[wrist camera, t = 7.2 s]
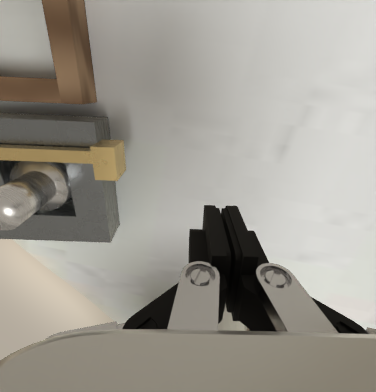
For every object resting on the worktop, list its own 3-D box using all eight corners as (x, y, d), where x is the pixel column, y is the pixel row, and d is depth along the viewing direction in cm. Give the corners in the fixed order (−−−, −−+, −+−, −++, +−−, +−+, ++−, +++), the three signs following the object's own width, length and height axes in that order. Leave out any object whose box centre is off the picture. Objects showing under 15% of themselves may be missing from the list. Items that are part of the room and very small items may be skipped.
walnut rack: (97, 102, 24) (82, 104, 21) (-17, 97, 24) (-48, 98, 21) (77, -53, 19) (54, -82, 16) (-69, -61, 18) (-121, -92, 15)
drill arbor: (85, 197, 29) (42, 242, 20) (39, 195, 29) (-24, 240, 20) (77, 151, 26) (24, 181, 18) (26, 149, 26) (-52, 178, 18)
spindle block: (119, 224, 31) (110, 242, 27) (16, 220, 30) (-7, 238, 27) (107, 117, 25) (94, 122, 21) (-21, 111, 24) (-58, 115, 21)
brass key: (126, 173, 23) (117, 184, 20) (-68, 165, 23) (-103, 176, 20) (123, 140, 21) (114, 147, 19) (-85, 131, 21) (-125, 137, 18)
